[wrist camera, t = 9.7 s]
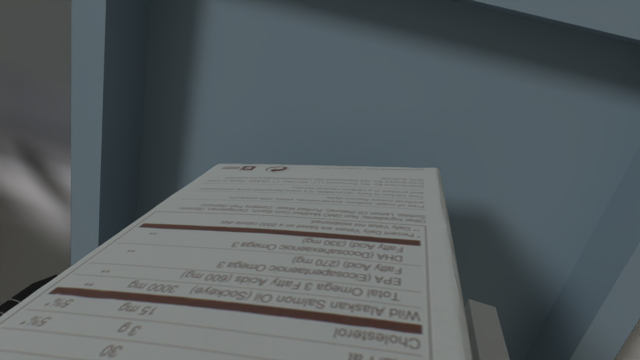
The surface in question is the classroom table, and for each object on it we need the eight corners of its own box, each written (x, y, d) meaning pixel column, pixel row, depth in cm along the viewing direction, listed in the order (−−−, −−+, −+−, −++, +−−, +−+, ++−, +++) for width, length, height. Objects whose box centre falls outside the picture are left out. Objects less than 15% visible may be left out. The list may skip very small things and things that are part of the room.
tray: (118, 321, 23) (70, 370, 20) (142, -111, 16) (71, -144, 12) (491, 450, 21) (504, 527, 18) (730, 24, 14) (828, 27, 10)
